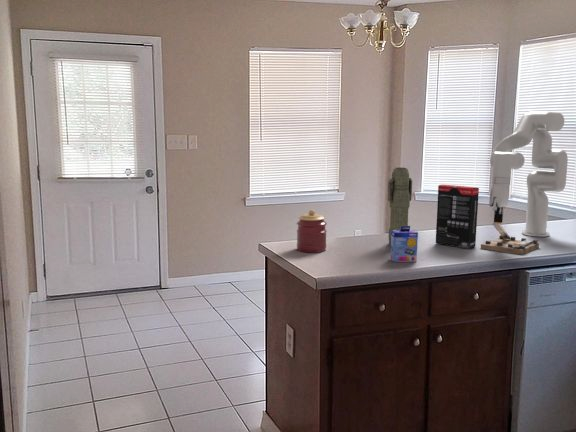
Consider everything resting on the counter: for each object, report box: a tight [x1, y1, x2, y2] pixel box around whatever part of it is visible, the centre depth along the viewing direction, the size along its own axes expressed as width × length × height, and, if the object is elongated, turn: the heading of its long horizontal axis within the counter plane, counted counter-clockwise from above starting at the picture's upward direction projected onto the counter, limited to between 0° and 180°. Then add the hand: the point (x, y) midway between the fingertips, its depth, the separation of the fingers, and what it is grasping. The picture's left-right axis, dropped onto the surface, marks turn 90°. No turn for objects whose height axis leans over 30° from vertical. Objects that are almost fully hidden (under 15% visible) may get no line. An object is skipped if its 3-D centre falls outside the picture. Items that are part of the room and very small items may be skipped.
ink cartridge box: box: [389, 225, 419, 263], centre depth 226 cm, size 10×6×14 cm, turn 95°
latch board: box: [480, 234, 540, 256], centre depth 250 cm, size 20×18×4 cm
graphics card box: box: [435, 184, 480, 250], centre depth 253 cm, size 17×7×27 cm, turn 47°
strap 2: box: [512, 239, 533, 247], centre depth 247 cm, size 16×3×1 cm, turn 137°
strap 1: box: [492, 221, 511, 240], centre depth 254 cm, size 16×3×1 cm
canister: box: [296, 209, 328, 253], centre depth 245 cm, size 13×13×18 cm
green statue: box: [387, 167, 413, 246], centre depth 254 cm, size 9×12×35 cm
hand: (498, 222), depth 249 cm, fingers closed
